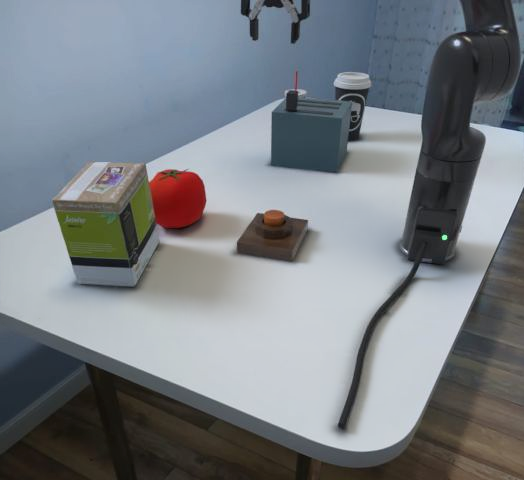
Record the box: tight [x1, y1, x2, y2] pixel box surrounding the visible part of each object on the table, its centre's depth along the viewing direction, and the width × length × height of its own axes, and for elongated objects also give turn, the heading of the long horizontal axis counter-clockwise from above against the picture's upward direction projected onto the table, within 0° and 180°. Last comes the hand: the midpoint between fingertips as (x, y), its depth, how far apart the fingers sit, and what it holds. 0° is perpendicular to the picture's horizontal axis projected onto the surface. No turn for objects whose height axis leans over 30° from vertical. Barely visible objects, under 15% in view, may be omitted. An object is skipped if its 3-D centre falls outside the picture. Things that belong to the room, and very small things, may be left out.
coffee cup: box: [333, 71, 372, 142], centre depth 130 cm, size 10×10×15 cm
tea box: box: [51, 160, 160, 288], centre depth 80 cm, size 15×10×15 cm, turn 174°
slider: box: [285, 89, 298, 111], centre depth 111 cm, size 3×2×4 cm
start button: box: [263, 209, 285, 227], centre depth 87 cm, size 4×4×2 cm
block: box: [236, 212, 309, 262], centre depth 89 cm, size 12×10×4 cm
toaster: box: [270, 97, 352, 174], centre depth 118 cm, size 14×16×12 cm
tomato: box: [149, 168, 207, 229], centre depth 93 cm, size 11×13×10 cm
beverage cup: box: [284, 70, 308, 98], centre depth 137 cm, size 6×6×14 cm
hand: (274, 41), depth 105 cm, fingers open, 8 cm apart
